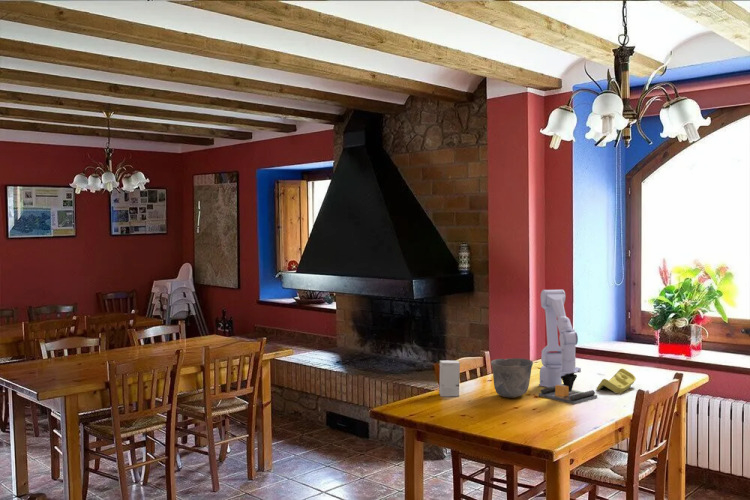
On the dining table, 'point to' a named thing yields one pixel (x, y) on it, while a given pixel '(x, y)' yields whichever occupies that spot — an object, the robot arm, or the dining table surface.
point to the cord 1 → (548, 389)
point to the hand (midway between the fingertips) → (568, 391)
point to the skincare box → (449, 378)
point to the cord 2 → (582, 395)
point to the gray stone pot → (511, 376)
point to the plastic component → (618, 381)
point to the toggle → (561, 390)
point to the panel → (567, 397)
